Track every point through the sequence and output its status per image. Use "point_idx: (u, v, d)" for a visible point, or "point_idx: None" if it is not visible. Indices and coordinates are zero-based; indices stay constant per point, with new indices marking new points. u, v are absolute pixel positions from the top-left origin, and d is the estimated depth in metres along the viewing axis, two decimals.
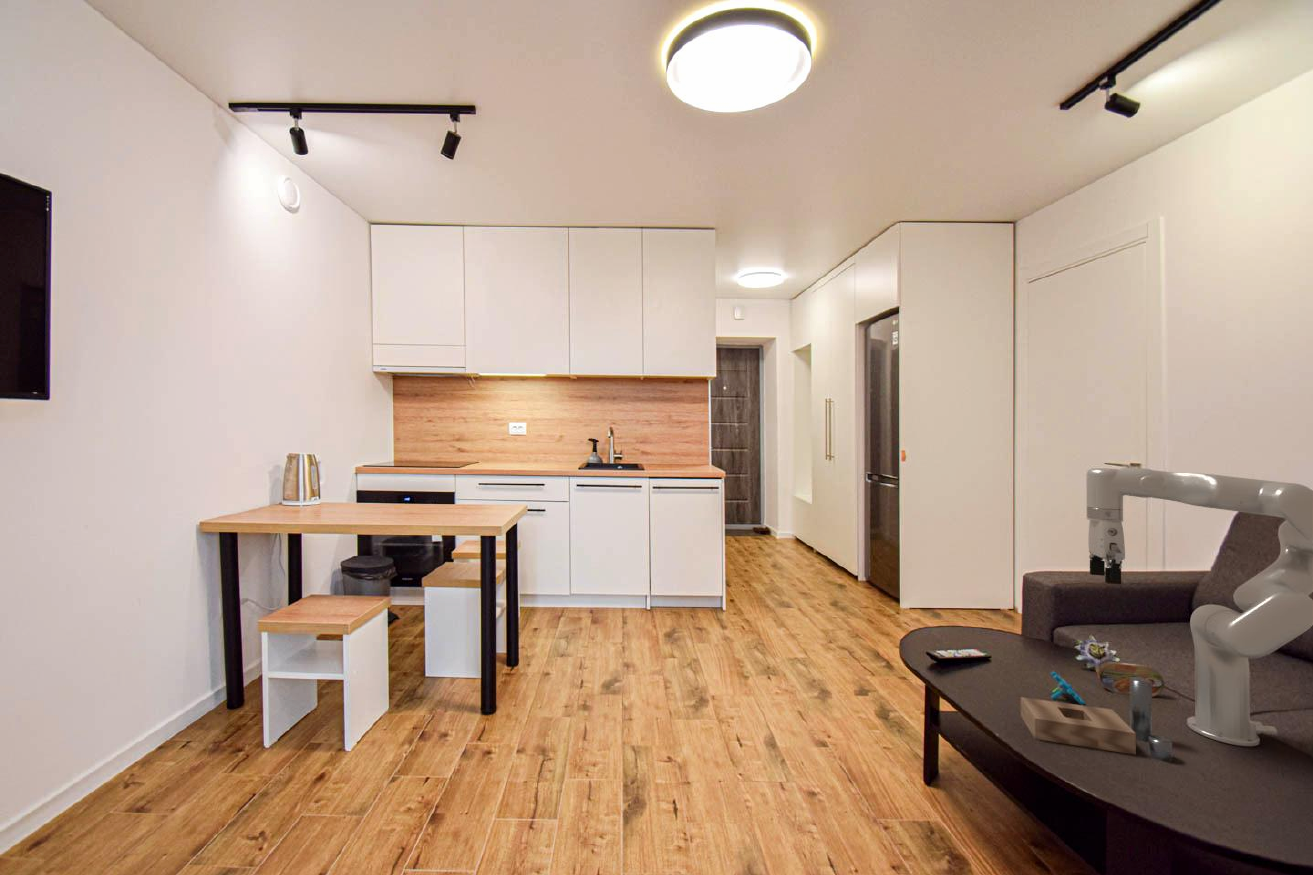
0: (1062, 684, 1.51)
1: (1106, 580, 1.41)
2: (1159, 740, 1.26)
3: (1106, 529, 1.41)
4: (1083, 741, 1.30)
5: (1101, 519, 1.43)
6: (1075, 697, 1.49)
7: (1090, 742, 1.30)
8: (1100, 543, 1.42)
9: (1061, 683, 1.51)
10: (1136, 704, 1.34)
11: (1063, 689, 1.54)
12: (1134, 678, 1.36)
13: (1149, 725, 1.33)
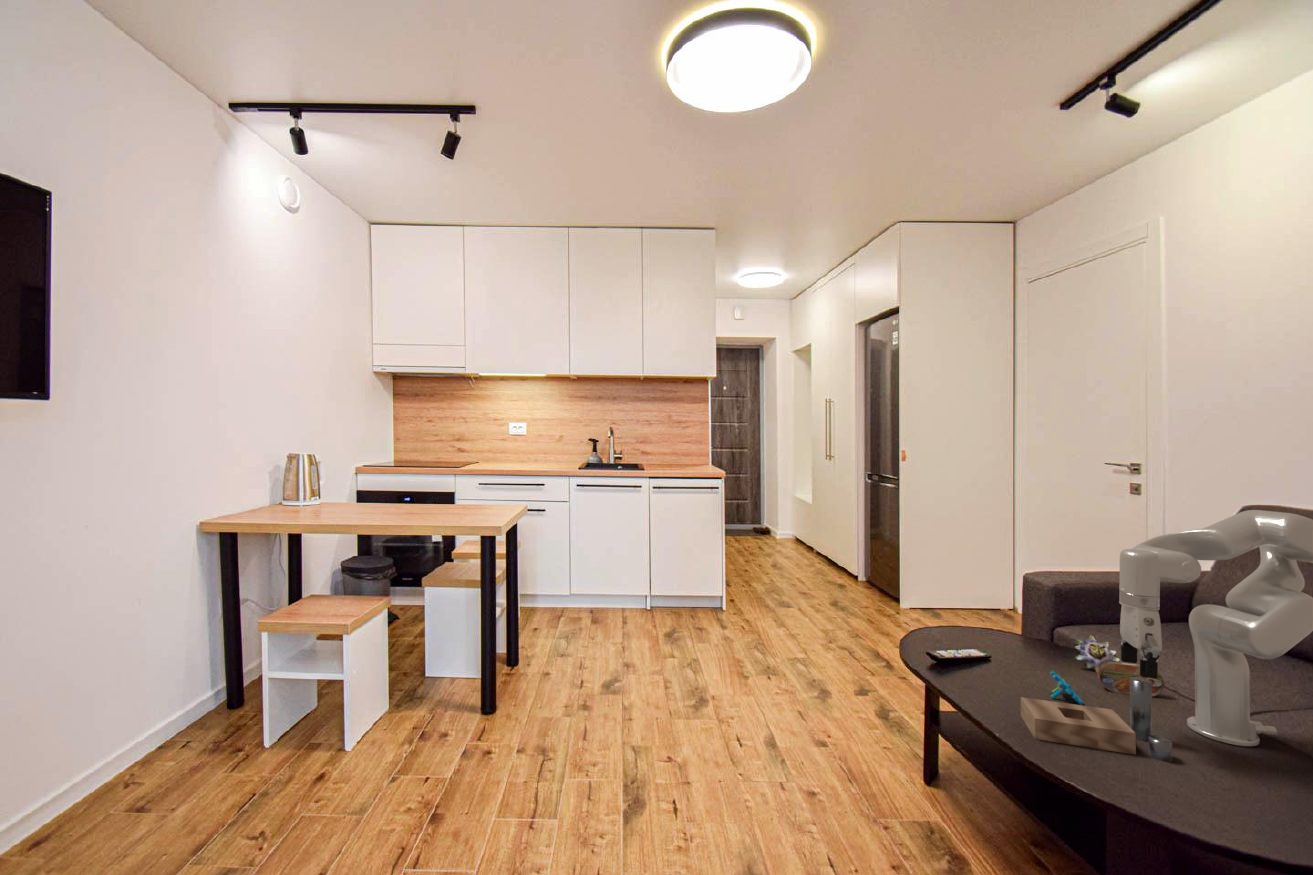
0: (1061, 684, 1.51)
1: (1141, 673, 1.31)
2: (1159, 740, 1.26)
3: (1142, 618, 1.31)
4: (1083, 741, 1.30)
5: (1136, 606, 1.33)
6: (1074, 697, 1.49)
7: (1090, 742, 1.30)
8: (1135, 632, 1.32)
9: (1060, 683, 1.51)
10: (1136, 704, 1.34)
11: (1062, 689, 1.54)
12: (1134, 678, 1.36)
13: (1149, 725, 1.33)
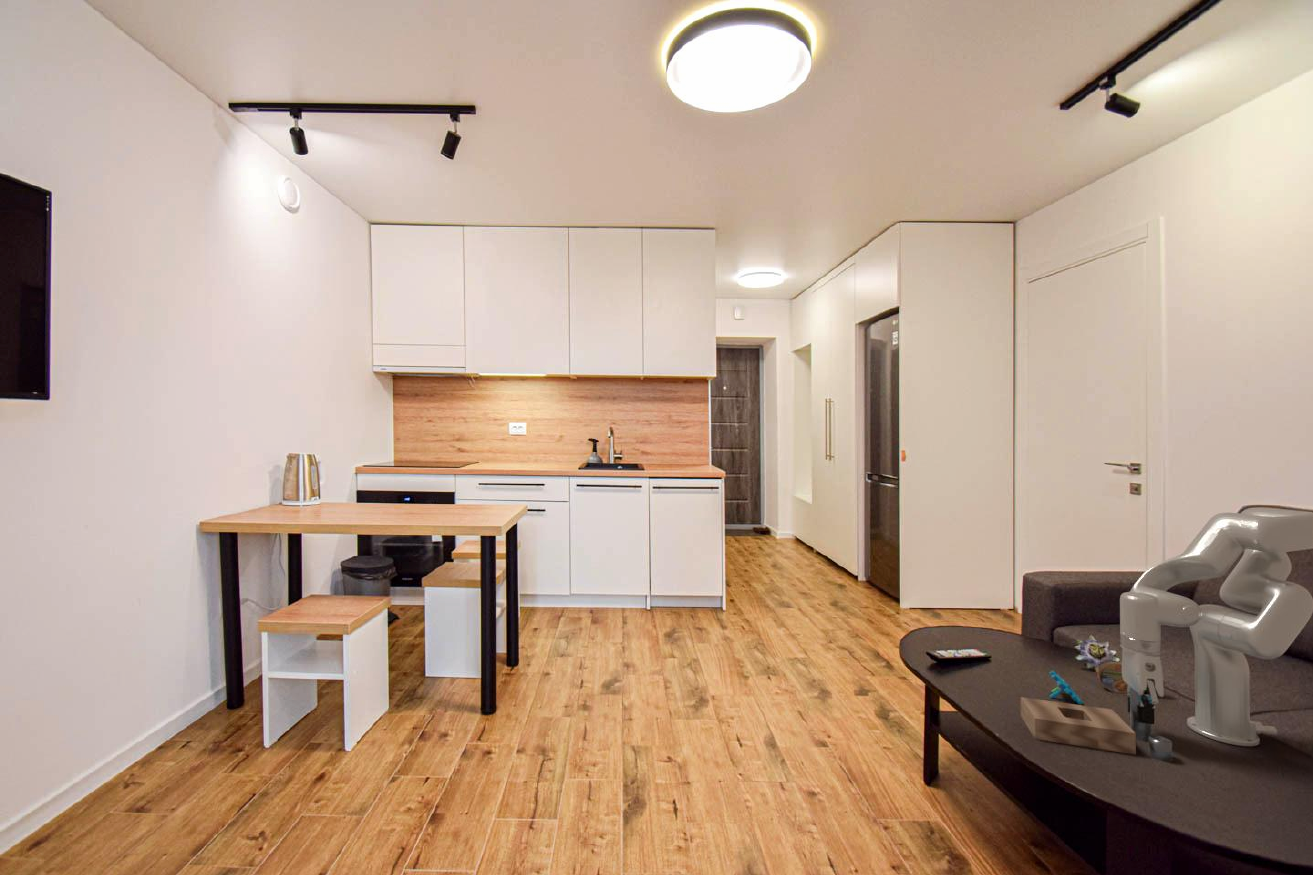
0: (1060, 683, 1.51)
1: (1138, 719, 1.33)
2: (1159, 740, 1.26)
3: (1143, 663, 1.31)
4: (1083, 741, 1.30)
5: (1137, 651, 1.33)
6: (1073, 697, 1.49)
7: (1090, 742, 1.30)
8: (1136, 677, 1.32)
9: (1059, 682, 1.52)
10: (1136, 704, 1.34)
11: (1061, 689, 1.54)
12: None
13: (1148, 725, 1.33)
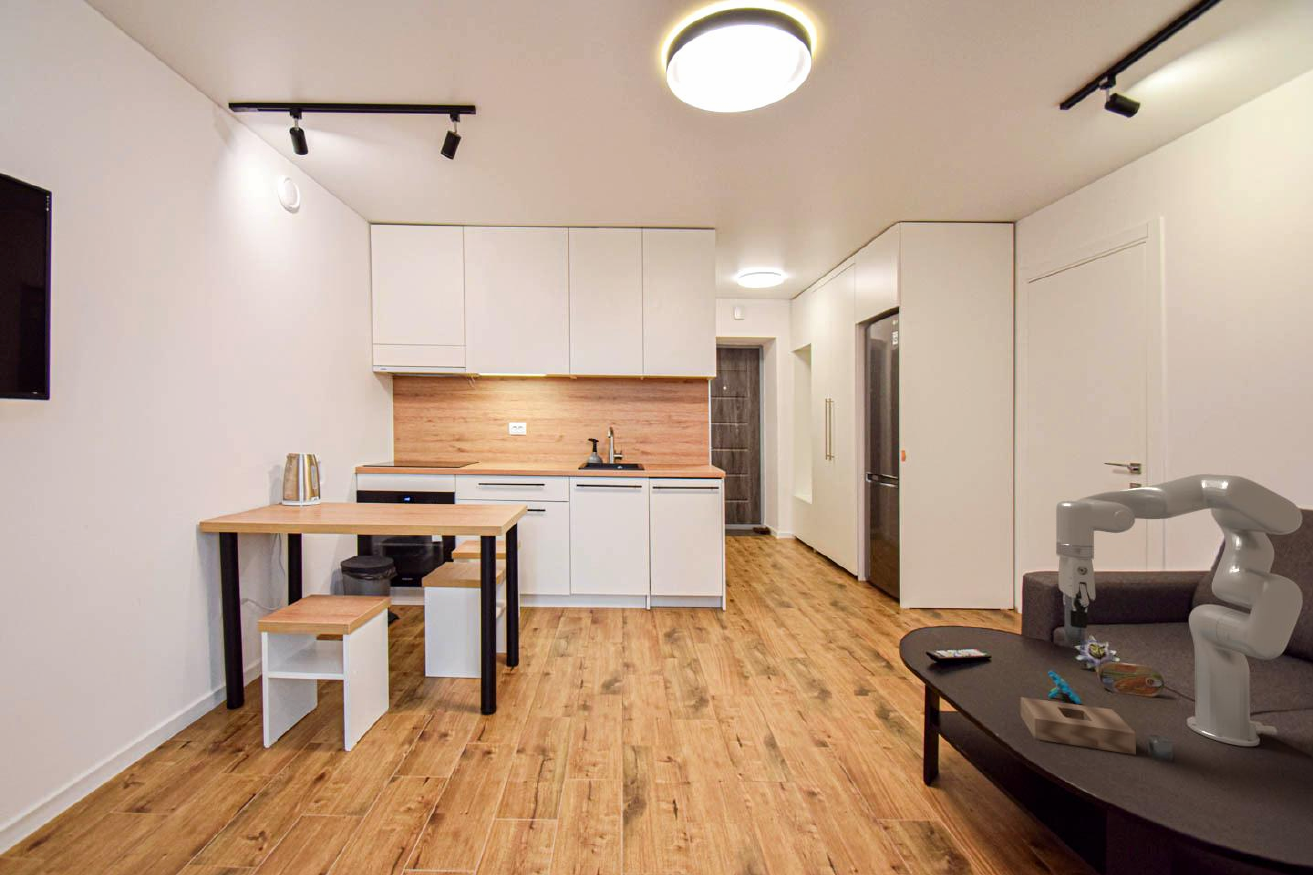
0: (1057, 683, 1.52)
1: (1071, 623, 1.34)
2: (1159, 740, 1.26)
3: (1076, 567, 1.33)
4: (1083, 741, 1.30)
5: (1071, 556, 1.34)
6: (1070, 696, 1.50)
7: (1090, 742, 1.30)
8: (1069, 582, 1.34)
9: (1057, 682, 1.52)
10: (1069, 609, 1.36)
11: (1060, 688, 1.54)
12: None
13: (1081, 630, 1.34)
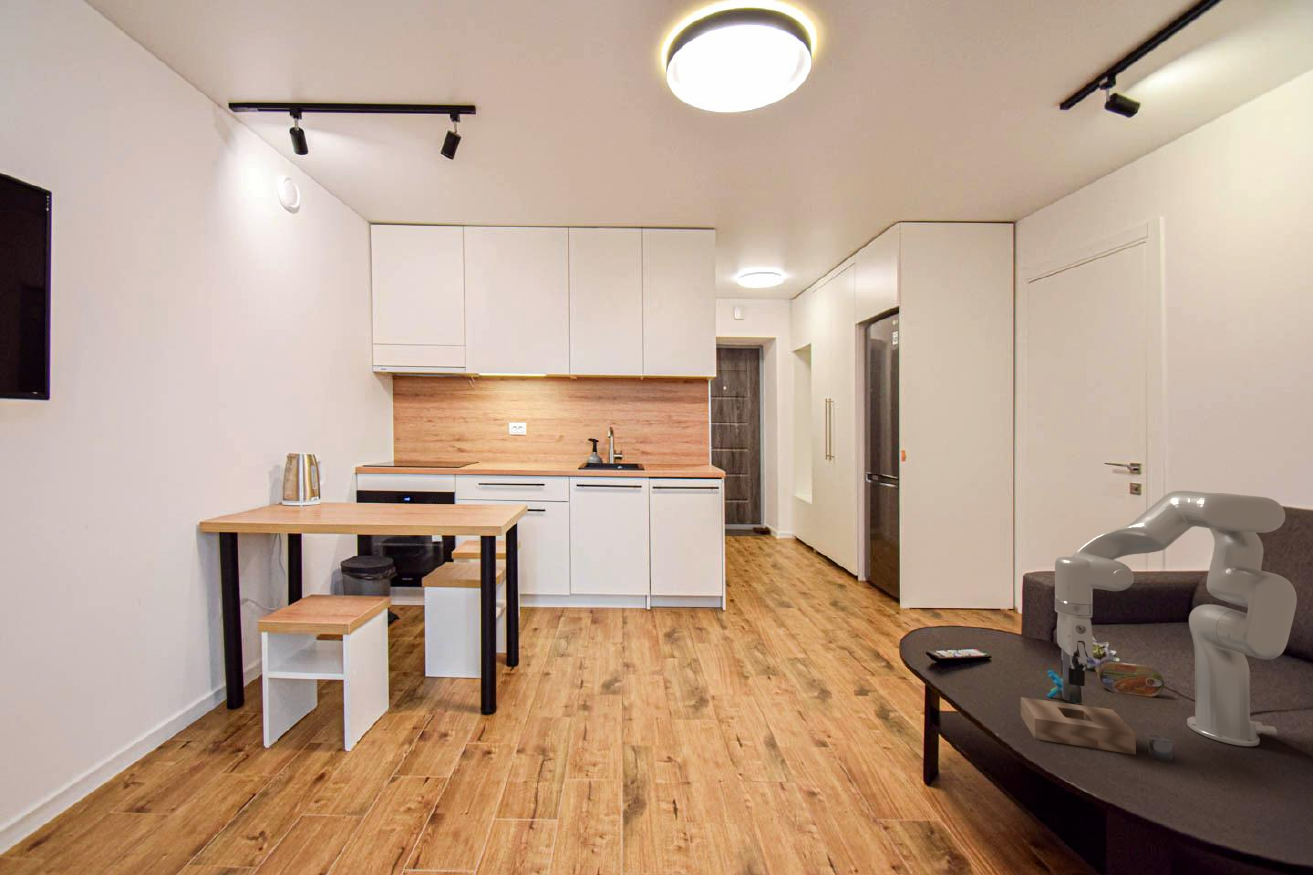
0: (1056, 683, 1.52)
1: (1069, 681, 1.34)
2: (1159, 740, 1.26)
3: (1074, 625, 1.32)
4: (1083, 741, 1.30)
5: (1069, 614, 1.34)
6: None
7: (1090, 742, 1.30)
8: (1068, 639, 1.34)
9: (1055, 682, 1.52)
10: (1067, 666, 1.35)
11: (1059, 688, 1.54)
12: None
13: (1079, 687, 1.34)
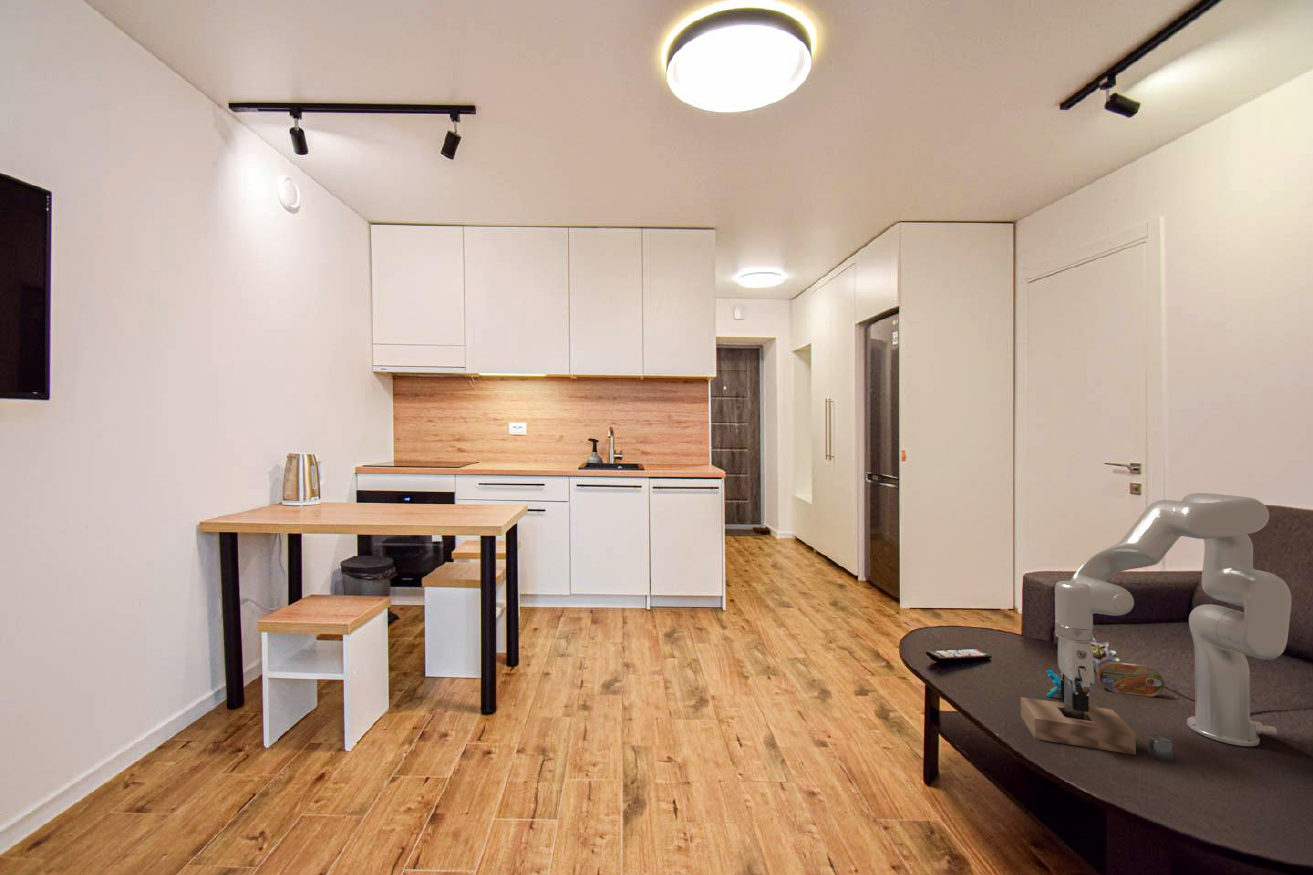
0: (1055, 682, 1.52)
1: (1073, 707, 1.33)
2: (1159, 740, 1.26)
3: (1074, 651, 1.32)
4: (1083, 741, 1.30)
5: (1069, 639, 1.34)
6: None
7: (1090, 742, 1.30)
8: (1068, 665, 1.34)
9: (1054, 681, 1.52)
10: (1069, 701, 1.35)
11: (1058, 688, 1.54)
12: None
13: None
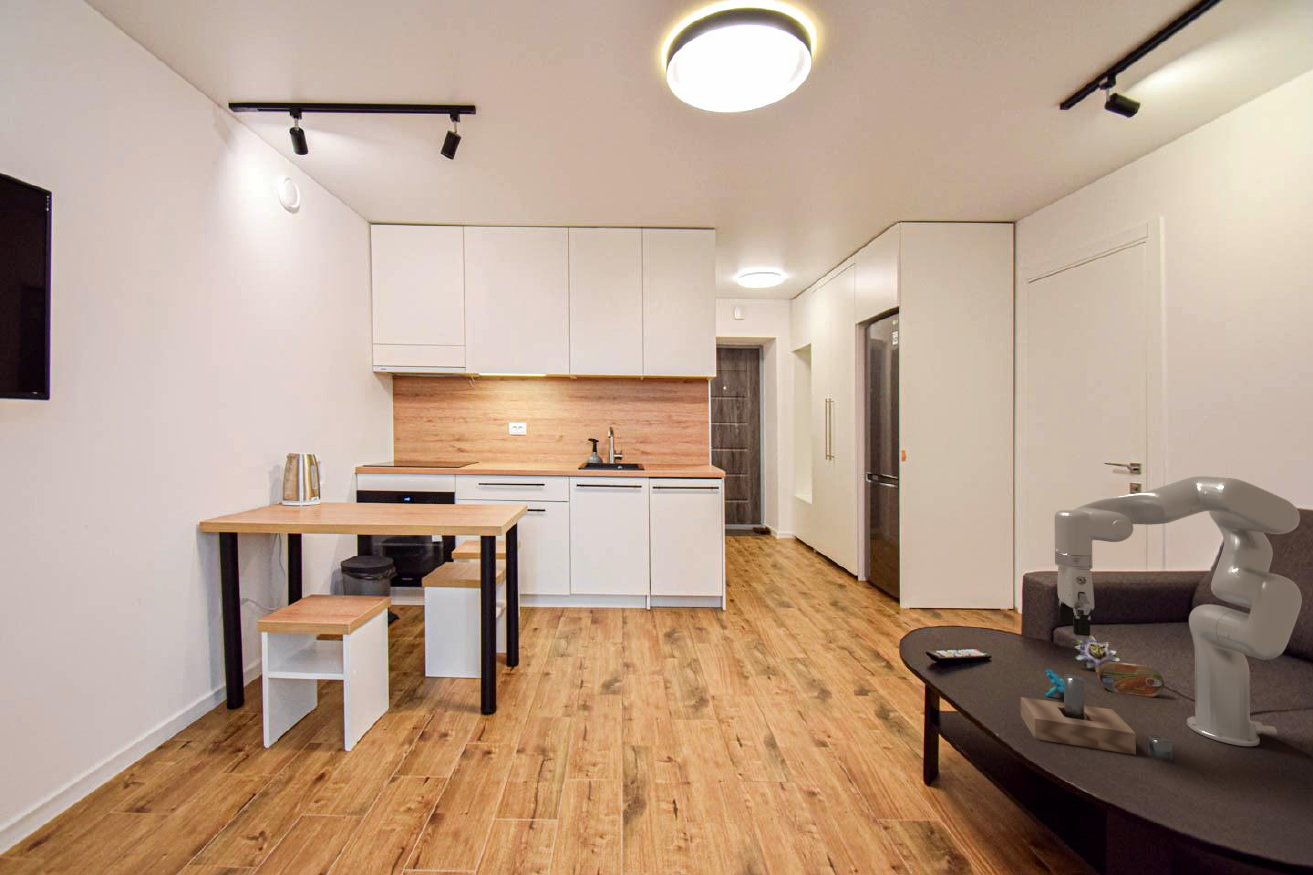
0: (1053, 682, 1.52)
1: (1074, 631, 1.32)
2: (1159, 740, 1.26)
3: (1074, 577, 1.33)
4: (1083, 741, 1.30)
5: (1069, 566, 1.34)
6: None
7: (1090, 742, 1.30)
8: (1068, 591, 1.34)
9: (1053, 681, 1.53)
10: (1069, 701, 1.35)
11: (1057, 687, 1.55)
12: (1068, 676, 1.37)
13: None
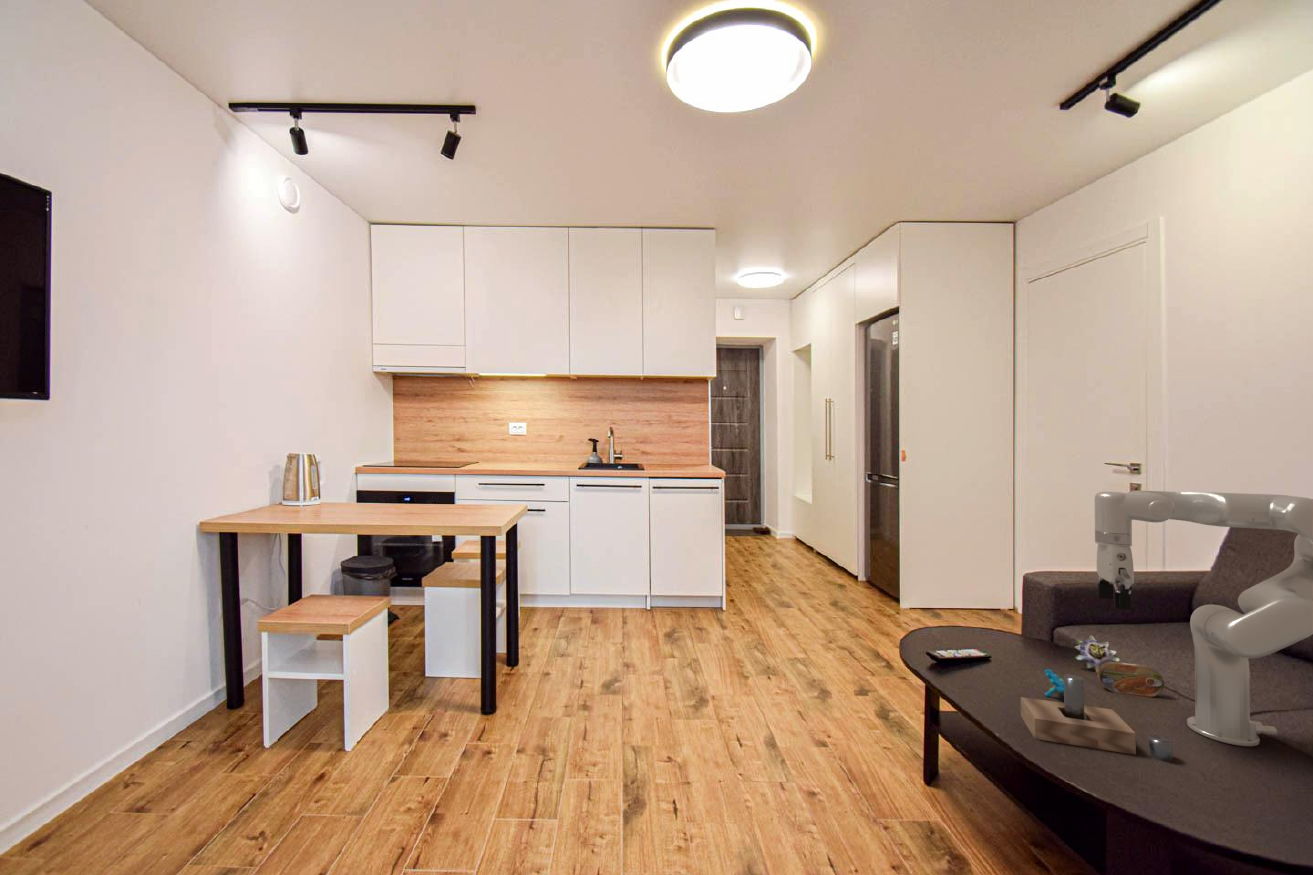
0: (1052, 681, 1.53)
1: (1115, 605, 1.40)
2: (1159, 740, 1.26)
3: (1115, 554, 1.41)
4: (1083, 741, 1.30)
5: (1110, 543, 1.42)
6: None
7: (1090, 742, 1.30)
8: (1109, 568, 1.42)
9: (1051, 680, 1.53)
10: (1069, 701, 1.35)
11: (1056, 687, 1.55)
12: (1068, 676, 1.37)
13: None
